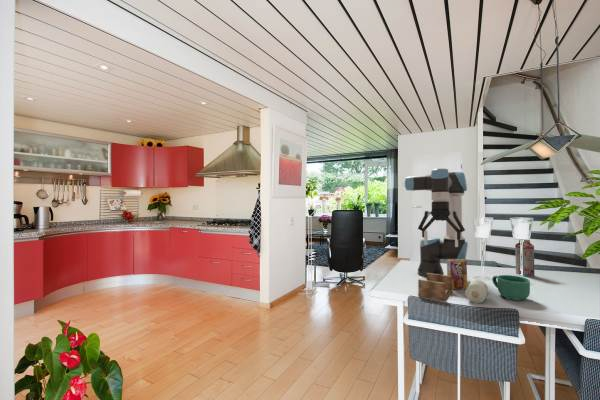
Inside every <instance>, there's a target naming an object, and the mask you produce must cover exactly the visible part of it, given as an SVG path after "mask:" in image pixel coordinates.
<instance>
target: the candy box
mask: <svg viewBox="0 0 600 400" xmlns="http://www.w3.org/2000/svg"><path fill="white" fill-rule="evenodd" d="M467 263H468V262H467V259H465V260H464V259H449V260H446V272H447V273H446V275H447V276H452V290H466V289H467V287H468V269H467V268H468V267H467V266H468V265H467Z"/></svg>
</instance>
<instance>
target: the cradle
mask: <svg viewBox="0 0 600 400" xmlns="http://www.w3.org/2000/svg"><path fill="white" fill-rule="evenodd" d="M417 285H418V287H417V289H418V294H417V295H418V297H420V298H427V299H432V300H437V301H438V300H439V301H444V302H445V301H446V300H447V299H448V297H450V295H451V294H452V292H453V289H452V276H447V274H446V275H445V274H444V275H439V274H431V273H427V277H426V279H421V278H419V279H417Z"/></svg>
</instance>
